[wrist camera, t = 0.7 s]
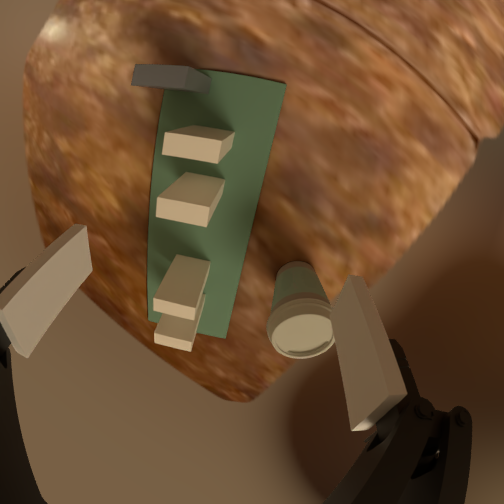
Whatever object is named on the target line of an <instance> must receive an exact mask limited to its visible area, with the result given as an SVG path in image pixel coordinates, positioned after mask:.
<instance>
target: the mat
mask: <svg viewBox="0 0 504 504" xmlns="http://www.w3.org/2000/svg"><path fill="white" fill-rule="evenodd" d="M195 70H197V71H199V72H201V73H203V74H204V75H206V76H208V77H210V78H212V80H211V85H210V89H209V94H202V93H194V92H185V91H175V90H164V95H163V101H162V106H161V112H160V118H159V125H158V131H157V138H156V146H155V154H154V163H153V172H152V182H151V194H150V208H149V226H148V258H147V288H148V320H149V321H152V322H156V323H159V320H160V318H161V316H162V313H161V312H157V311H154V310H153V297H154V295H155V294H156V292H157V290H158V288H159V286H160V284H161V282H162V280H163V278H164V276H165V275H166V273H167V271H168V269H169V267H170V265H171V263H172V262H173V260H174V258H175V256H176V254H178V255H183V256H187V257H192V258H196V259H201V260H206V261H210V269H209V274H208V277H207V280H206V283H205V287H204V290H203V293H202V294H206V295H205V301H204V306H203V310H202V313H201V317H200V320H199V324H198V327H197V331H196V332H197V333H201V334H206V335H210V336H215V337H220V338H226V334H227V330H228V326H229V321H230V317H231V313H232V308H233V304H234V300H235V296H236V291H237V287H238V283H239V279H240V275H241V270H242V266H243V262H244V258H245V253H246V249H247V245H248V241H249V237H250V233H251V228H252V224H253V220H254V216H255V212H256V208H257V203H258V199H259V195H260V191H261V187H262V183H263V179H264V175H265V170H266V166H267V162H268V158H269V154H270V150H271V146H272V142H273V138H274V134H275V130H276V126H277V122H278V117H279V113H280V109H281V105H282V101H283V97H284V93H285V89H286V85H287V84H282V83H278V82H274V81H269V80H265V79H260V78H255V77H250V76H244V75H238V74H232V73H225V72H218V71H210V70H202V69H195ZM192 125H198V126H204V127H210V128H216V129H222V130H228V131H233V132H235V134H234V139H233V144H232V148H231V149H230V150H229V151H228V153H227V154H226V155H225V156H224V157H223V158H222V159H221V160H220V162H219V163H218V164H216V163H210V162H205V161H199V160H194V159H188V158H182V157H175V156H169V155H162V150H163V142H164V135H165V132H168V131H172V130H175V129H179V128H183V127H187V126H192ZM185 172H189V173H195V174H200V175H206V176H211V177H216V178H221V179H225V183H224V189H223V194H222V196H221V198H220V200H219V202H218V204H217V207H216V209H215V211H214V213H213V215H212V217H211V219H210V221H209V223H208V225H207V227H203V226H198V225H193V224H188V223H183V222H179V221H174V220H169V219H164V218H159V217H156V206H157V197H158V196H159V195H160V194H161V193H162V192H163V191H165V190H166V189H167V188H168V187H169V186H170V185H171V184H173V183H174V182H175V181H176V180H177V179H178V178H180V177H181V176H182V175H183V174H184V173H185Z"/></svg>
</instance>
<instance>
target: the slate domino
mask: <svg viewBox="0 0 504 504" xmlns="http://www.w3.org/2000/svg"><path fill="white" fill-rule="evenodd" d="M211 80H212V78H210V77H208V76H206V75H204V74H203V73H201V72H199V71H197V70H195V69H193V68H191V67H189V66H178V65H156V64H135V68H134V73H133V78H132V83H131V85H133V86H142V87H151V88H158V89H165V90H175V91H185V92H194V93H202V94H209V89H210V85H211Z"/></svg>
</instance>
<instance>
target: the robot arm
mask: <svg viewBox="0 0 504 504" xmlns="http://www.w3.org/2000/svg"><path fill="white" fill-rule="evenodd" d="M91 272H92V264H91V258H90V251H89V244H88V236H87V227H86V226H85V225H80V224H74V225H73V226H72V227H71V228H69V229H68V230H67V231H66V232H65V233H63V234H62V235H61V236H60V237H59V238H57V239H56V240H55V241H54V242H53V243H52V244H51V245H49V246H48V247H47V248H46V249H45V250H44V251H43V252H42V253H41V254H40V255H39V256H37V257H36V258H35V259H34V260H33V261H32V262H31V263H30V264H29V265H28V266H27V267H25V268H23V269H21V270H19V271H18V272H16V273H15V274H14V275H13V276H12V277H11V278H10V280H8V281H7V282H6V283H5V286H3V287H2V288H1V289H0V504H47V502H45V501H44V499H43V498H42V496H41V494H40V491H39V489H38V486H37V484H36V481H35V478H34V475H33V473H32V469H31V466H30V463H29V460H28V456H27V453H26V449H25V446H24V442H23V438H22V434H21V429H20V424H19V420H18V414H17V409H16V402H15V396H14V388H13V380H12V368H11V353H10V349H9V348H8V347H9V345H10V344H12V345H13V347H14V349H15V350H16V352H18V353H19V354H21V355H23V356H24V357H26V358H28V357H29V356H30V354H31V352H32V351H33V349H34V348H35V346H36V345H37V343H38V342H39V340H40V339H41V337H42V336H43V334H44V333H45V331H46V330H47V329H48V327H49V326H50V324H51V323H52V322H53V320H54V319H55V318H56V316H57V315H58V314H59V312H60V311H61V309H62V308H63V307H64V305H65V304H66V303H67V302H68V300H69V299H70V298H71V296H72V295H73V294H74V293H75V291H76V290H77V289H78V288H79V286H80V285H81V284H82V283H83V281H84V280H85V279H86V278H87V276H88V275H89V274H90V273H91ZM330 320H331V325H332V329H333V334H334V339H335V343H336V348H337V353H338V358H339V363H340V368H341V373H342V379H343V384H344V389H345V395H346V401H347V407H348V413H349V420H350V426H351V431H357V430H368V429H370V428H371V427H372V426H373V425H374V424H376V426H377V431H375V432H374V433H373V434H372V435H370V436H369V437H368V438H367V439H366V440H365V441H364V442H367V441H369V442H368V443H367V445H366V446H365V448H364V450H363V451H362V453H361V454H360V455H359V457H358V459H357V460H356V461H355V463H354V464H353V466H352V467H351V468H350V470H349V471H348V473H347V474H346V475H345V477H344V478H343V479H342V480H341V482H340V483H339V484H338V486H337V487H336V488H335V489H334V491H333V492H332V493H331V494H330V495H329V497H328V498H327V499H326V500H325V501H324V503H323V504H464V502H465V497H466V491H467V485H468V478H469V470H470V459H471V445H472V419H471V416H470V413H469V412H468V411H467V410H466V409H465V408H464V407H461V406H457V407H454V408H453V409H452V410H451V411H450V412H448V413H447V412H442V411H438V410H435V408H434V407H433V405H432V403H431V402H429V401H428V400H427V399H425V398H423V397H420V395H419V392H418V389H417V386H416V383H415V380H414V377H413V375H412V372H411V369H410V368H409V364H408V361H407V360H406V356H405V353H404V351H403V348H402V347H401V346H400V345H399V343H398V342H397V341H396V340H395V339H388V337H387V334H386V331H385V329H384V326H383V324H382V321H381V319H380V316H379V314H378V312H377V309H376V307H375V304H374V302H373V300H372V297H371V295H370V293H369V290H368V288H367V286H366V283H365V281H364V279H363V277H360V276H355V275H348V277H347V280H346V282H345V284H344V286H343V289H342V291H341V293H340V295H339V298H338V300H337V302H336V304H335V306H334V308H333V310H332V312H331V315H330ZM438 452H439V456H438Z"/></svg>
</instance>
